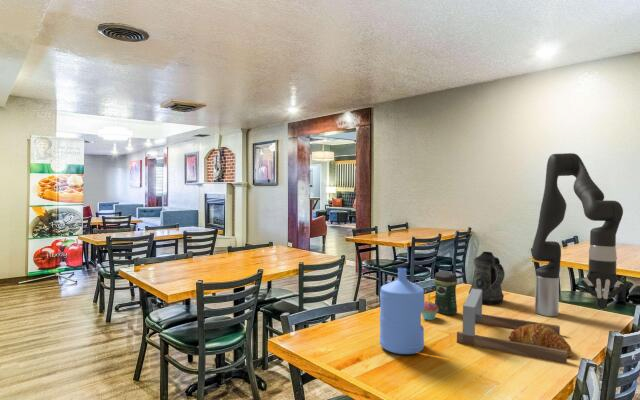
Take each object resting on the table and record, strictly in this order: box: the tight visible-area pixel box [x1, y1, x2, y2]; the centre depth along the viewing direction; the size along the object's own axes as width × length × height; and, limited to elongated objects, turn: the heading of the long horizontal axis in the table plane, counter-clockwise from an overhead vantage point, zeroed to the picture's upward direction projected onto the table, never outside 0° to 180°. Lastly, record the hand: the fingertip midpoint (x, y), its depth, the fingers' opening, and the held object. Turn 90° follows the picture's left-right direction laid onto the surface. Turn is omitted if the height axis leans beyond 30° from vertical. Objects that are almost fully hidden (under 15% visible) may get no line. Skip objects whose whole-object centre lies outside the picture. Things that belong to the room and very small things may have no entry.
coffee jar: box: [434, 271, 458, 316], centre depth 172 cm, size 10×8×19 cm
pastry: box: [508, 322, 573, 358], centre depth 134 cm, size 21×13×8 cm, turn 42°
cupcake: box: [421, 293, 439, 321], centre depth 164 cm, size 9×8×12 cm
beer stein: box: [468, 251, 505, 306], centre depth 190 cm, size 16×19×25 cm
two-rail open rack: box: [456, 289, 568, 364], centre depth 141 cm, size 28×34×14 cm
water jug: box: [379, 267, 426, 355], centre depth 134 cm, size 16×16×28 cm
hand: (601, 308), depth 128 cm, fingers closed
